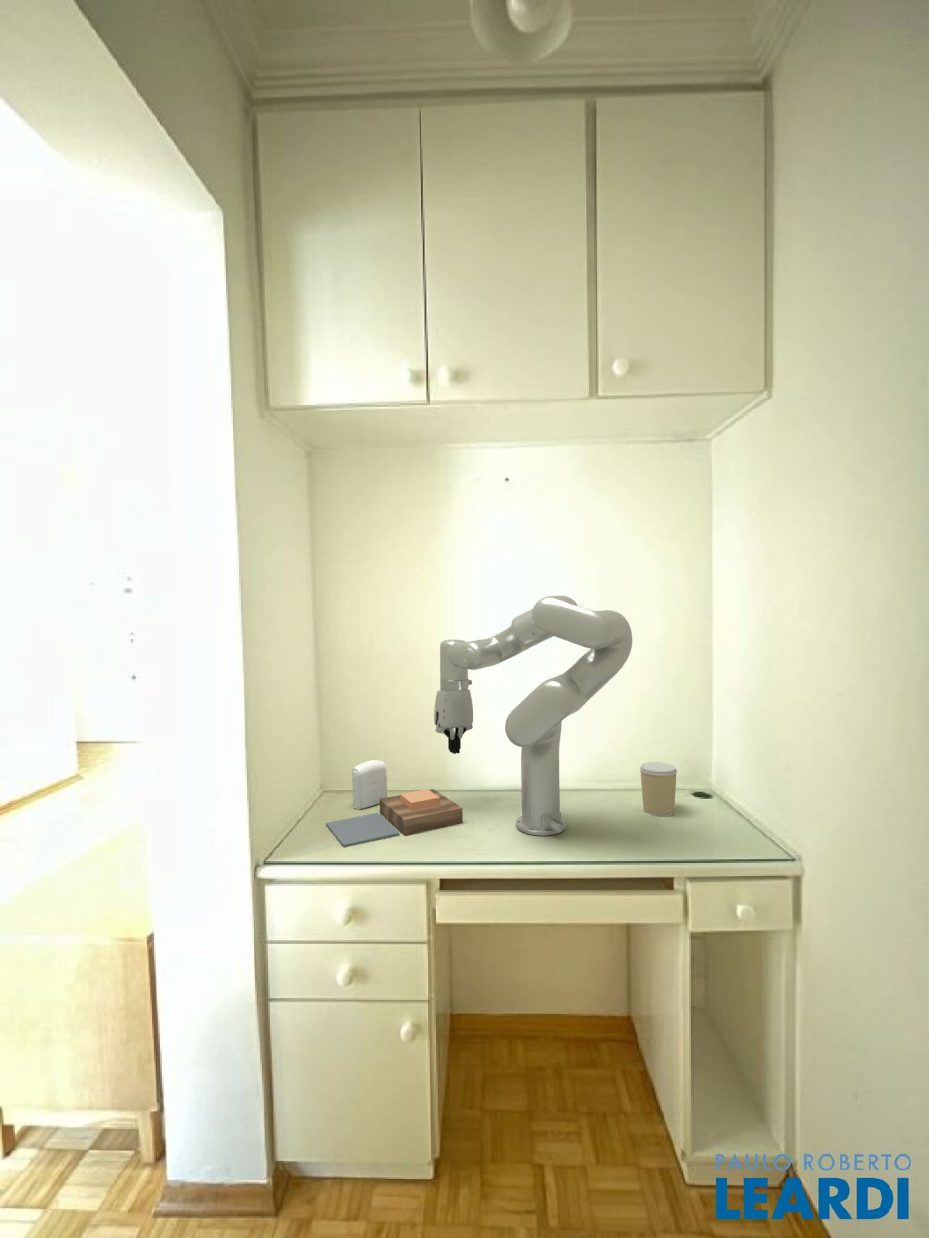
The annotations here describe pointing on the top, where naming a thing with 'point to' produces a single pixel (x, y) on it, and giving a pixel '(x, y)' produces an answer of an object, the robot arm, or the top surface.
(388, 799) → the deck
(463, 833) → the top surface
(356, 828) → the mat
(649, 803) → the coffee cup
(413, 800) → the tile
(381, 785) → the photo printer
